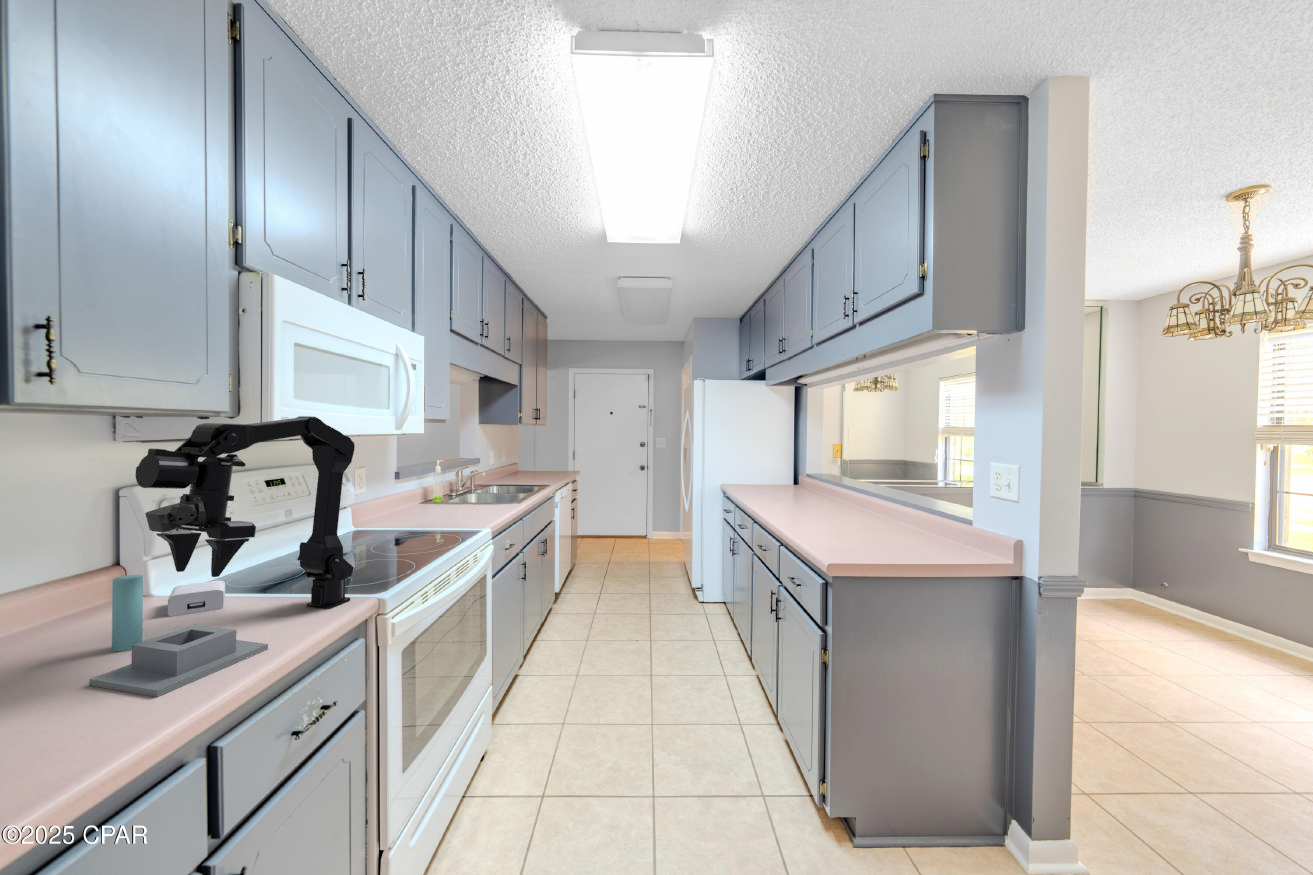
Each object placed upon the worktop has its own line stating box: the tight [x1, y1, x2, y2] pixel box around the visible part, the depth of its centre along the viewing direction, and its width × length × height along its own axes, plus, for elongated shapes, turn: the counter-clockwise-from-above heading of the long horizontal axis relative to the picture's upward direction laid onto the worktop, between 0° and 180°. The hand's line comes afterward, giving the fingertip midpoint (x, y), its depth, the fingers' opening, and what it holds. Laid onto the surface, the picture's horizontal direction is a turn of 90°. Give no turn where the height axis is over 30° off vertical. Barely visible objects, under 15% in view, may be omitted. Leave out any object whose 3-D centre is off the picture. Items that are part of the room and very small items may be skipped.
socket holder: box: [88, 623, 269, 698], centre depth 90 cm, size 18×14×5 cm
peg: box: [111, 574, 144, 653], centre depth 97 cm, size 4×4×13 cm
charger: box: [167, 580, 226, 617], centre depth 121 cm, size 5×9×15 cm
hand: (197, 574), depth 97 cm, fingers open, 9 cm apart
